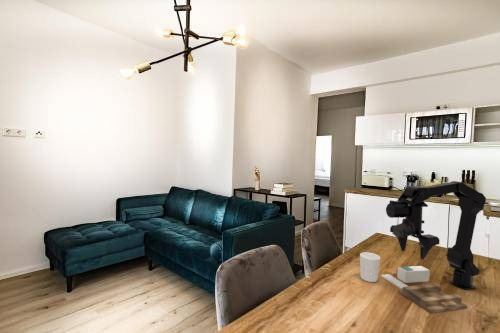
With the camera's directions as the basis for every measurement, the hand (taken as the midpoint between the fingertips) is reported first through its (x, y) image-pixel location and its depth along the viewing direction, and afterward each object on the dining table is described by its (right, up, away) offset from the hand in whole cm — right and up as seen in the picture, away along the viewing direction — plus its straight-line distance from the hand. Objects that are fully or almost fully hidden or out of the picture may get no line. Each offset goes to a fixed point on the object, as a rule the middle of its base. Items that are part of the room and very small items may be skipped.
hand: (412, 255), depth 108 cm
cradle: (+1, -13, -10) cm, 17 cm away
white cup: (-15, -12, +6) cm, 20 cm away
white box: (+4, -13, +6) cm, 15 cm away
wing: (-5, -13, +3) cm, 14 cm away
